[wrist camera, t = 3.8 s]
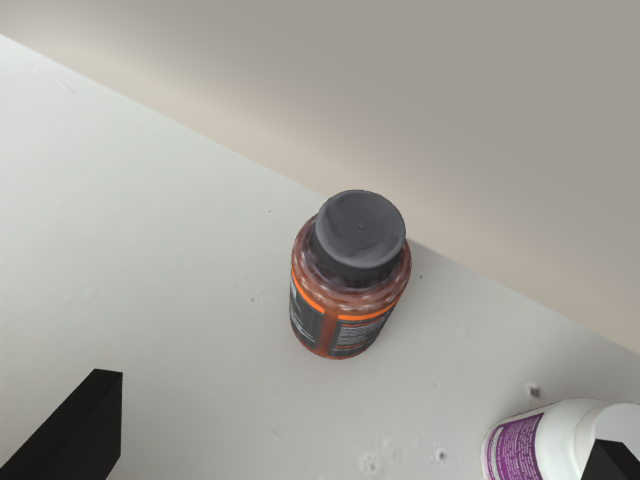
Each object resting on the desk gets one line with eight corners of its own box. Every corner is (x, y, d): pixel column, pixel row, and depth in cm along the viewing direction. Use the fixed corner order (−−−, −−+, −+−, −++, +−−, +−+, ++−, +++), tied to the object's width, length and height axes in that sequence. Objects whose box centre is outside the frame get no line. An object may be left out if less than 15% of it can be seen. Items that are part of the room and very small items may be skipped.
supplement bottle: (398, 318, 29) (458, 231, 20) (335, 382, 27) (367, 321, 17) (334, 258, 31) (359, 150, 21) (269, 313, 29) (263, 221, 19)
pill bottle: (529, 546, 24) (667, 578, 15) (458, 456, 26) (546, 440, 17) (589, 477, 26) (741, 471, 17) (519, 398, 27) (625, 358, 19)
